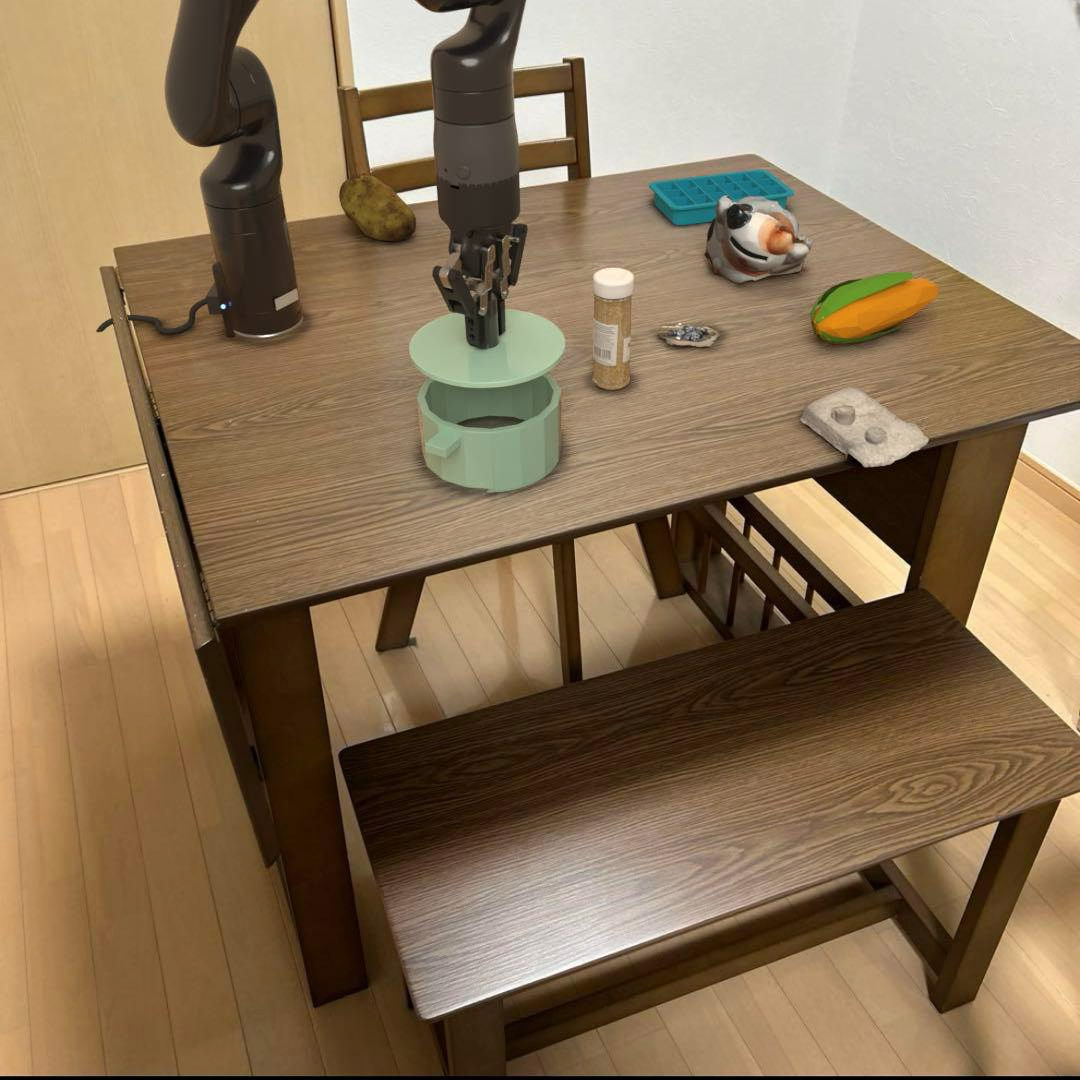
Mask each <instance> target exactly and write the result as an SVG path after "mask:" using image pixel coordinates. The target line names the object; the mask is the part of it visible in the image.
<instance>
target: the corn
mask: <svg viewBox="0 0 1080 1080" xmlns="http://www.w3.org/2000/svg"><path fill="white" fill-rule="evenodd" d="M913 277H914V273H913V272H909V271H908V272H907V271H905V272H903V271H901V272H900V271H899V272H898V271H897V272H895V271H894V272H885V273H880V274H876V275H872V276H867V277H865V278H857V279H848V280H846V281H843V282H841V283H838V284H835V285H833V286H830V287H829V288H828V289H826V290H825V291H824V292H823V293H822V294H820V296H819V297H818V298H817V300H816V301H815V303H814V304H813V306H812V308H811V310H810V313H809V316H810V324H811V327H812V331H813V334H814V335H815V336H817V337H819V338H820V339H821V340H822V341H825V342H827V343H829V344H833V345H834V344H853V343H860V342H865V341H869V340H872V339H876V338H878V337H881V336H885V335H888V334H890V333H892V332H894V331H896V330H898V329H901V328H904V327H906V326H907V325H908V323H904V324H902V325H900V326H896V325H898V324H899V323H902V322H904V321H905V320H907V319H908V318H911V317H912V316H914V315H915V314H917V313H918V312H919V311H921V310H922V309H923V308H925V307H926V306H928V305H929V304H930V303H932V302H933V301H935V300H936V299H937V298H938V295H939V289H940V286H939V285H937V284H936V283H934V282H932V281H931V280H929V279H927V278H924V277H923V278H913ZM818 305H819V306H818ZM817 306H818V307H817ZM895 326H896V327H895ZM889 328H890V329H889ZM882 331H883V332H882Z"/></svg>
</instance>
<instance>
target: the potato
mask: <svg viewBox="0 0 1080 1080" xmlns="http://www.w3.org/2000/svg"><path fill="white" fill-rule="evenodd" d="M338 198H339V202H340V206H341V209H342V211H343V213H344V215H345V217H347V219H348V220H349V221H351V222H352V223H354V224H356V225H357V226H358V227H359V229H360V231H361V232H362V233H363V234H364V235H365V236H367V237H369V238H371V239H374V240H377V241H382V242H383V241H384V242H397V241H405V240H406V239H408V238H410V237H411V236H413V235H414V234H415V232H416V229H417V218H416V216H415V213H414V212H413V210H412V208H411V207H410V206H409V205H408V204H407V203H406V202H405V201H404V200H403V199H402V198H401V196H399V194H397V191H396V190H394V189H392V188H391V186H389V185H387V184H385V183H384V182H382V181H381V180H380V179H379V178H377V177H375V176H374V175H370V174H366V173H361V174H360V173H359V174H354V175H352V176H351V177H348V178H347V179H346V180H344V181H343V182H342V184H341V185H340V187H339V194H338Z"/></svg>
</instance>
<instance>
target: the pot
mask: <svg viewBox="0 0 1080 1080" xmlns="http://www.w3.org/2000/svg"><path fill="white" fill-rule="evenodd" d="M416 405H417V412H418V413H417V414H418V425H419V434H420V443H421V452H422V456H423V459H424V462H425V466H426V467H427V469H429V470H430V471H432V472H433V473H434V474H435V475H437V477H438V478H440V479H441V480H443V481H445V482H450V483H451V484H455V485H459V486H461V487H465V488H473V489H487V490H486V491H485V493H488V494H489V493H502V492H504V493H505V492H510V491H514V490H519V489H523V488H526V487H528V486H531V485H533V484H535V483H537V482H539V481H541V480H543V479H544V478H545V477H547V476H548V475H549V474H550V473H552V471H553V470H554V469H555V468H556V466H557V464H558V463H559V461H560V458H561V451H562V389H561V388H560V386H559V383H557V380H556V379H555V377H554V376H553V375H552V374H550V373H549V372H547V373H545V374H544V375H542V376H540V377H537V378H535V379H533V380H530V381H527V382H523V383H520V384H516V385H511V386H505V387H497V388H468V387H460V386H453V385H449V384H445V383H442V382H439V381H436V380H434V379H431V378H429V377H428V378H427V379H426V380H425V381H424V382H422V383H421V386H420V388H419V390H418V393H417V396H416ZM489 416H490V417H510V418H516V419H519V420H522V422H519V423H517V424H511V425H505V426H499V427H492V428H489V427H487V428H486V427H471V426H469V427H468V426H464V425H460V424H459V423H461V422H463V421H466V420H470V419H477V418H483V417H489Z"/></svg>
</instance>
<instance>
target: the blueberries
mask: <svg viewBox="0 0 1080 1080" xmlns="http://www.w3.org/2000/svg"><path fill="white" fill-rule="evenodd" d="M656 335H659V336H660V338H662V339H665V340H666V341H665V342H666V344H669V345H670V346H673V345H676V346H691V347H697V348H702V347H711V346H712V345H713V344H715V341H716V340H717V339H718V338H719V337H720V333H719V331H717V330H715V329H713V328H710V327H708V326H698V325H694V326H692V325H691V324H685V325H684V324H682V323H681V322H678V324H676V323H675V324H671V323H669V324H664V325H662V326H660V328H659V329H658V331H657V332H656Z"/></svg>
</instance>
